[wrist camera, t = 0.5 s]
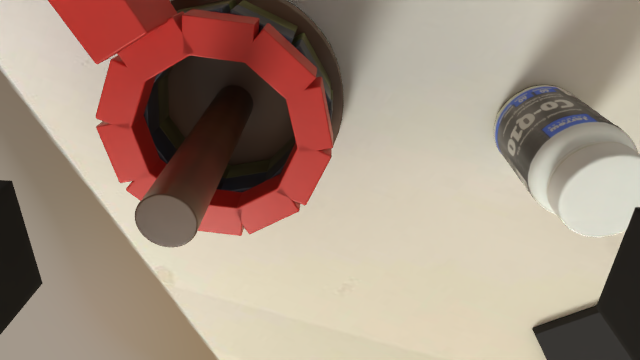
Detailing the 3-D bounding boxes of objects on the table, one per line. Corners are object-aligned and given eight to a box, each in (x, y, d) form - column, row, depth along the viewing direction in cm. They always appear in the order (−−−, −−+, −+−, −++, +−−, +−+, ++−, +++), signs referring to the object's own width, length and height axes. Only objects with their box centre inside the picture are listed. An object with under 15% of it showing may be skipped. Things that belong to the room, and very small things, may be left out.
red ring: (369, 163, 24) (376, 204, 20) (194, 246, 26) (172, 295, 23) (188, -165, 18) (151, -189, 14) (-16, -17, 20) (-90, -6, 17)
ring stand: (273, -63, 23) (212, -55, 12) (378, 136, 28) (410, 283, 16) (89, 54, 26) (-107, 153, 14) (212, 217, 31) (137, 391, 19)
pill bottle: (540, 65, 26) (625, 120, 18) (595, 118, 27) (697, 191, 19) (473, 130, 27) (525, 205, 20) (528, 177, 29) (597, 264, 21)
